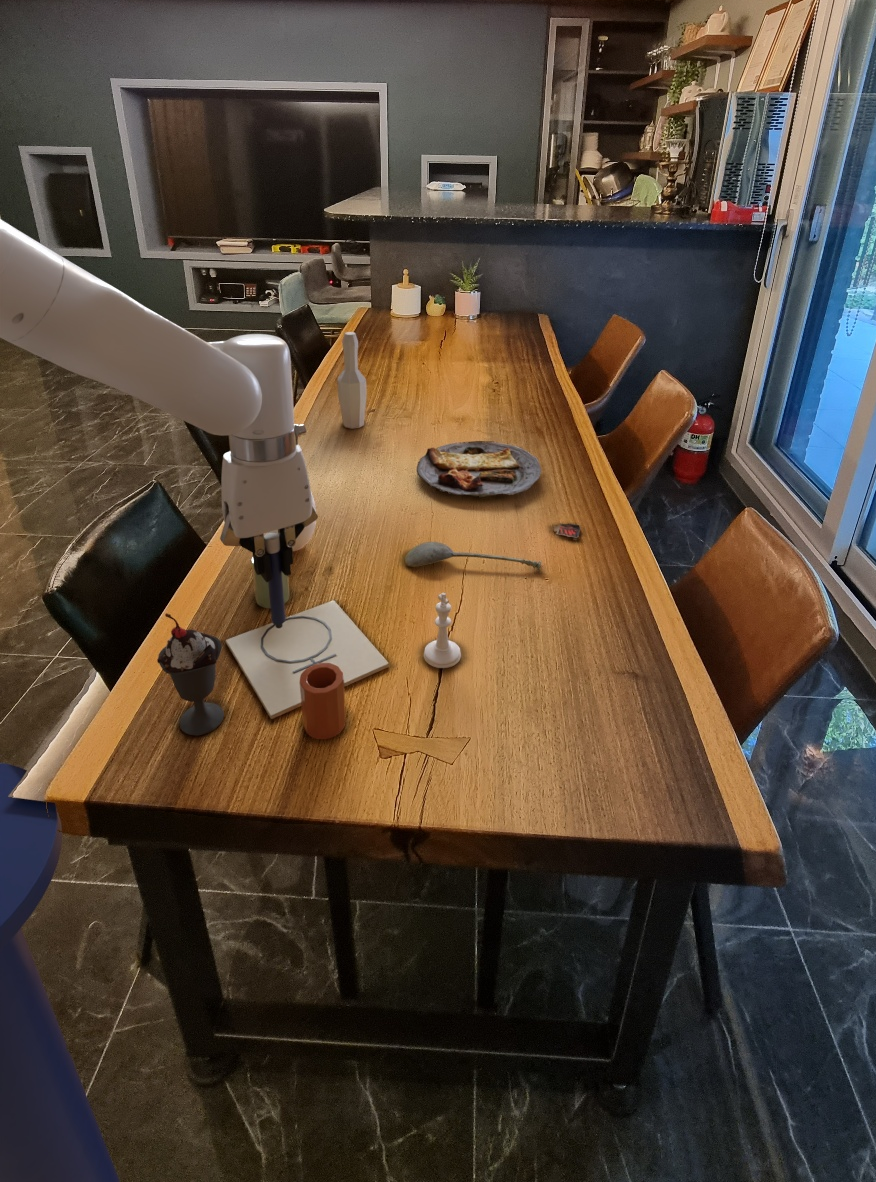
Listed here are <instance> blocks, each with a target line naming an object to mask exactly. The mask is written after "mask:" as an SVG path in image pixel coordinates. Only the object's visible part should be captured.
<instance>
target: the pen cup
mask: <svg viewBox="0 0 876 1182" xmlns="http://www.w3.org/2000/svg"><path fill="white" fill-rule="evenodd" d="M250 564H251V572H252V581H253V590H254V598H255V602H256V604H257V605H258V606H259V607H261V608H265V609H271V608H270V598H269V587H268V582H266V581H265V580H264V579H263V577H262V576H261V575H257V574H256V572H255V570H254V563H253V556H252V557H251V561H250ZM289 579H290V578H289V575H288V576H286V575H284V573H283V572H282V581H283V594H284V605H286V603H287V602H288V601H289V600H290V594H291V593H290V592H291V591H290V581H289Z"/></svg>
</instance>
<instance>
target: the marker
mask: <svg viewBox="0 0 876 1182" xmlns="http://www.w3.org/2000/svg"><path fill="white" fill-rule="evenodd" d="M264 544H265V548H266V551H267V552H268V554H269V555H270V562H271V573H272V580H271V581H270V582H268V587H269V598H270V608H269V609H270V617H271V618H270V619H271V623H273V624H276V628H282V626H283V624H282V623H284V622H285V620H286V608H285V607H286V606H285V604H284V594H283V581H282V569H281V557H280V540H279V534H278V533H274V532H271V533H269V532H267V533H264Z"/></svg>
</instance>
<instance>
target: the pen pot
mask: <svg viewBox="0 0 876 1182" xmlns="http://www.w3.org/2000/svg"><path fill="white" fill-rule="evenodd" d="M300 693H301V704H302V706H301V715H302V724H303V729H304V731H305V733H306V735H308V736H309V737H311V738H313V739H316V740H328V739H332V738H334V737H336V736H338V735H339V734H340V733H341V732H342V731H343V730H344V728H345V726H346V721H347V720H346V718H347V717H346V716H347V715H346V714H347V713H346V695H345V687H344V675H343V672H342V670H341V669H340V668H339V667H338V666H337V665H334V664H331V663H317V664H315V665H312V666H310V667H308V668H306V670H305V671H304V672H303V673H302V674H301V676H300Z"/></svg>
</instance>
